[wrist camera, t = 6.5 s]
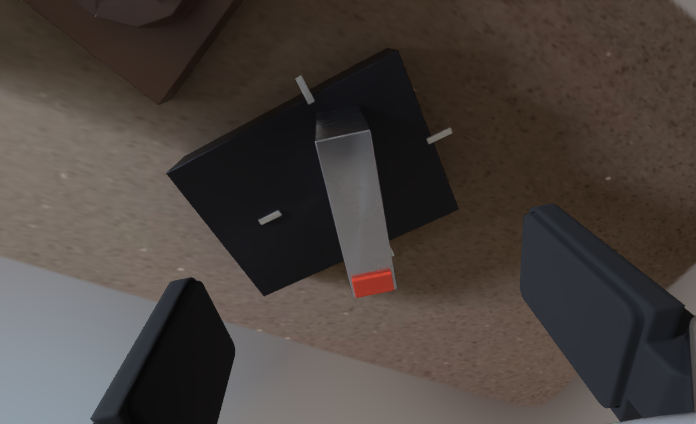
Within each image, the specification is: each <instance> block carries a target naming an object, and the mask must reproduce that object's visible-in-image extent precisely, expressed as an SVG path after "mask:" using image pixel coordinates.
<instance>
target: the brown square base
mask: <svg viewBox="0 0 696 424" xmlns="http://www.w3.org/2000/svg"><path fill="white" fill-rule="evenodd" d="M23 1H24V2H25V3H27V4H28V5H29V6H31V7H32V8H33V9H34V10H36V11H37V12H38V13H40V14H41V15H42V16H44V17H45V18H46V19H47V20H49V21H50V22H51V23H53V24H54V25H55V26H56V27H58V28H59V29H60V30H62V31H63V32H64V33H66V34H67V35H68V36H69V37H71V38H72V39H73V40H75V41H76V42H77V43H78V44H80V45H81V46H82V47H84V48H85V49H86V50H88V51H89V52H90V53H91V54H93V55H94V56H95V57H97V58H98V59H99V60H100V61H102V62H103V63H104V64H106V65H107V66H108V67H110V68H111V69H112V70H113V71H115V72H116V73H117V74H119V75H120V76H121V77H122V78H124V79H125V80H126V81H128V82H129V83H130V84H132V85H133V86H134V87H135V88H137V89H138V90H139V91H141V92H142V93H143V94H144V95H146V96H147V97H148V98H150V99H151V100H152V101H154V102H155V103H156V104H157V105H160V104H163V103H165V102H167V101H169V100H171V99H172V97H173V96H174V95H175V93H176V92H177V91H178V89H179V88H180V86H181V85H182V84H183V82H184V81H185V79H186V78H187V77H188V75H189V74H190V73H191V71H192V70H193V68H194V67H195V66H196V64H197V63H198V62H199V60H200V59H201V57H202V56H203V55H204V53H205V52H206V51H207V49H208V48H209V46H210V45H211V44H212V42H213V41H214V40H215V38H216V37H217V35H218V34H219V33H220V31H221V30H222V29H223V27H224V26H225V24H226V23H227V22H228V20H229V19H230V17H231V16H232V15H233V13H234V12H235V11H236V9H237V8H238V6H239V5H240V4H241V2H242V1H243V0H23Z"/></svg>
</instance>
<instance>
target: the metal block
mask: <svg viewBox="0 0 696 424" xmlns="http://www.w3.org/2000/svg"><path fill="white" fill-rule="evenodd" d="M315 145H316V149H317V153H318V157H319V161H320V165H321V170H322V174H323V178H324V182H325V186H326V190H327V194H328V198H329V202H330V206H331V210H332V214H333V218H334V222H335V226H336V230H337V234H338V239H339V243H340V247H341V251H342V255H343V259H344V263H345V267H346V271H347V275H348V279H349V283H350V287H351V291H352V295H353V298H358V297H363V296H368V295H373V294H378V293H383V292H388V291H393V290H396V289H397V285H396V279H395V273H394V267H393V261H392V255H391V249H390V243H389V237H388V231H387V225H386V219H385V214H384V208H383V202H382V196H381V190H380V184H379V178H378V172H377V166H376V160H375V154H374V148H373V142H372V136H371V131H370V129H369V127H368V125H367V123H366V121H365V119H364V117H363V115H362V113H361V111H360V109H359V107H358V105H357V104H355V105H350V106H346V107H341V108H336V109H332V110H327V111H322V112H318V113H317V115H316V132H315Z"/></svg>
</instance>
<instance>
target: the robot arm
mask: <svg viewBox="0 0 696 424" xmlns="http://www.w3.org/2000/svg"><path fill="white" fill-rule="evenodd" d="M520 291H521V294H522V297H523V299H524V300H525V302H526V303H527V304H528V306H529V307H530V308H531V310H532V311H533V313H534V314H535V315H536V317H537V318H538V319H539V321H540V322H541V324H542V325H543V326H544V328H545V329H546V330H547V332H548V333H549V335H550V336H551V337H552V339H553V340H554V341H555V343H556V344H557V346H558V347H559V348H560V350H561V351H562V352H563V354H564V355H565V357H566V358H567V359H568V361H569V362H570V363H571V365H572V366H573V368H574V369H575V370H576V372H577V373H578V374H579V376H580V377H581V378H582V380H583V381H584V383H585V384H586V385H587V387H588V388H589V390H590V391H591V392H592V394H593V395H594V396H595V398H596V399H597V400H598V402H599V403H600V404H601V405H602V406H603V407H605V408H611V410H612V411H613V412H614V414H615V415H616V416H617V418H618V419H619V421H620V422H618V423H611V424H696V316H694V315H692V314H691V313H690V312H689V311H688V310H686V309H685V308H684V306H685V305H684V304H682V303H681V302H680V301H678V300H677V299H676V298H675V297H674V296H672V295H671V294H669V293H668V292H667V291H666V290H665V289H663V288H662V287H661V286H659V285H658V284H657V283H656V282H654V281H653V280H652V279H650V278H649V277H648V276H647V275H645V274H644V273H643V272H641V271H640V270H639V269H638V268H636V267H635V266H634V265H633V264H631V263H630V262H629V261H627V260H626V259H625V258H624V257H622V256H621V255H620V254H618V253H617V252H616V251H615V250H613V249H612V248H611V247H609V246H608V245H607V244H606V243H604V242H603V241H602V240H601V239H599V238H598V237H597V236H595V235H594V234H593V233H592V232H590V231H589V230H588V229H586V228H585V227H584V226H583V225H581V224H580V223H579V222H577V221H576V220H575V219H574V218H572V217H571V216H570V215H569V214H567V213H566V212H565V211H563V210H562V209H561V208H560V207H558V206H557V205H555V204H547V205H542V206H538V207H533V208H531V209H530V210H529V214H525V215H524V218H523V234H522V254H521V275H520ZM234 357H235V346H234V343H233V341H232V339H231V337H230V335H229V333H228V331H227V329H226V327H225V325H224V323H223V322H222V320H221V318H220V316H219V314H218V312H217V310H216V308H215V306H214V304H213V302H212V300H211V298H210V296H209V294H208V293H207V291H206V289H205V287H204V285H203V283H202V282H201V281H196V280H195V279H194V278H192V277H190V278H185V279H180V280H175V281H172V282H170V283H169V285H168V286H167V288H166V290H165V292H164V293H163V295H162V297H161V298H160V300H159V302H158V304H157V305H156V307H155V309H154V310H153V312H152V314H151V316H150V317H149V319H148V321H147V322H146V324H145V326H144V328H143V329H142V331H141V333H140V334H139V336H138V338H137V340H136V341H135V343H134V345H133V346H132V348H131V350H130V352H129V353H128V355H127V357H126V359H125V360H124V362H123V364H122V365H121V367H120V369H119V371H118V372H117V374H116V376H115V377H114V379H113V381H112V382H111V384H110V386H109V388H108V389H107V391H106V393H105V395H104V396H103V398H102V400H101V401H100V403H99V405H98V406H97V408H96V410H95V412H94V413H93V415H92V417H91V418H90V419H91V420H92V421H93V422H94V423H93V424H217V422H218V418H219V414H220V411H221V407H222V403H223V399H224V395H225V391H226V387H227V384H228V380H229V376H230V372H231V368H232V364H233V360H234ZM640 418H643V419H640ZM635 419H637V420H635ZM629 420H630V421H629ZM623 421H624V422H623Z"/></svg>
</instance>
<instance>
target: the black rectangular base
mask: <svg viewBox="0 0 696 424" xmlns="http://www.w3.org/2000/svg"><path fill="white" fill-rule="evenodd" d="M295 80H296V82H297V84H298V86H299V87H300V89H301V91H302V94H300V95H298V96H296V97H295V98H293V99H291V100H289V101H287V102H285V103H283V104H281V105H280V106H278V107H276V108H274V109H272V110H270V111H268V112H267V113H265V114H263V115H261V116H259V117H257V118H255V119H253V120H252V121H250V122H248V123H246V124H244V125H242V126H240V127H238V128H237V129H235V130H233V131H231V132H229V133H227V134H225V135H223V136H222V137H220V138H218V139H216V140H214V141H212V142H210V143H209V144H207V145H205V146H203V147H201V148H199V149H197V150H195V151H194V152H192V153H190V154H188V155H186V156H184V157H183V158H182V159H181V160H180V161H179V162H178V163H177V164H176V165H174V166H173V167H172V168H171V169H170V170H169V171H168V172H167V173H166V174H167V175H168V176H169V178H170V179H171V180H172V181H173V183H174V184H175V185H176V186H177V188H178V189H179V190H180V191H181V193H182V194H183V195H184V196H185V198H186V199H187V200H188V201H189V203H190V204H191V205H192V207H193V208H194V209H195V210H196V212H197V213H198V214H199V215H200V217H201V218H202V219H203V220H204V222H205V223H206V224H207V225H208V227H209V228H210V229H211V230H212V232H213V233H214V234H215V235H216V237H217V238H218V239H219V240H220V242H221V243H222V244H223V246H224V247H225V248H226V249H227V251H228V252H229V253H230V254H231V256H232V257H233V258H234V259H235V261H236V262H237V263H238V264H239V266H240V267H241V268H242V269H243V271H244V272H245V273H246V274H247V276H248V277H249V278H250V279H251V281H252V282H253V283H254V284H255V286H256V287H257V288H258V290H259V291H260V292H261V293H262V295H263V296H266V295H268V294H270V293H273V292H275V291H277V290H279V289H282V288H284V287H286V286H288V285H291V284H293V283H295V282H297V281H300V280H302V279H304V278H306V277H309V276H311V275H313V274H315V273H318V272H320V271H322V270H324V269H326V268H329V267H331V266H333V265H335V264H338V263H340V262H342V261H344V259H343V255H342V251H341V247H340V243H339V239H338V234H337V230H336V226H335V222H334V218H333V214H332V210H331V206H330V202H329V198H328V194H327V190H326V186H325V182H324V178H323V174H322V170H321V165H320V161H319V157H318V153H317V149H316V145H315V132H316V115H317V113H318V112H322V111H327V110H332V109H336V108H341V107H346V106H350V105H355V104H357V105H358V107H359V109H360V111H361V113H362V115H363V117H364V119H365V121H366V123H367V125H368V127H369V129H370V131H371V136H372V142H373V148H374V154H375V160H376V166H377V172H378V178H379V184H380V190H381V196H382V202H383V208H384V214H385V219H386V225H387V231H388V237H389V240H391V239H394V238H396V237H398V236H400V235H403V234H405V233H407V232H409V231H412V230H414V229H416V228H418V227H421V226H423V225H425V224H427V223H429V222H432V221H434V220H436V219H438V218H441V217H443V216H445V215H447V214H450V213H452V212H454V211H456V210H458V209H459V208H458V206H457V203H456V200H455V198H454V195H453V193H452V190H451V187H450V185H449V182H448V180H447V177H446V174H445V172H444V169H443V167H442V164H441V161H440V159H439V156H438V153H437V151H436V148H435V146H434V143H433V142H435V141H437V140H439V139H441V138H443V137H445V136H448V135H450V134H452V130H451V128H450V127H448V128H446V129H444V130H442V131H440V132H438V133H436V134H434V135H432V136H431V135H430V133H429V130H428V127H427V125H426V122H425V120H424V117H423V114H422V112H421V109H420V106H419V104H418V101H417V99H416V96H415V93H414V91H413V88H412V86H411V83H410V80H409V78H408V75H407V73H406V70H405V67H404V65H403V62H402V59H401V57H400V54H399V52H398V50H394V49H390V48H386V49H384V50H382V51H381V52H379V53H377V54H375V55H373V56H371V57H369V58H367V59H366V60H364V61H362V62H360V63H358V64H356V65H354V66H353V67H351V68H349V69H347V70H345V71H343V72H341V73H339V74H338V75H336V76H334V77H332V78H330V79H328V80H326V81H324V82H323V83H321V84H319V85H317V86H315V87H313V88H311V89H310V90H309V89H308V87H307V85H306V83H305V81H304V79H303V77H302V75H300V76H299V77H297V78H295ZM390 249H391V255H392V257H393V256H395V254H394V252H393V250H392V248H391V247H390Z"/></svg>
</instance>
